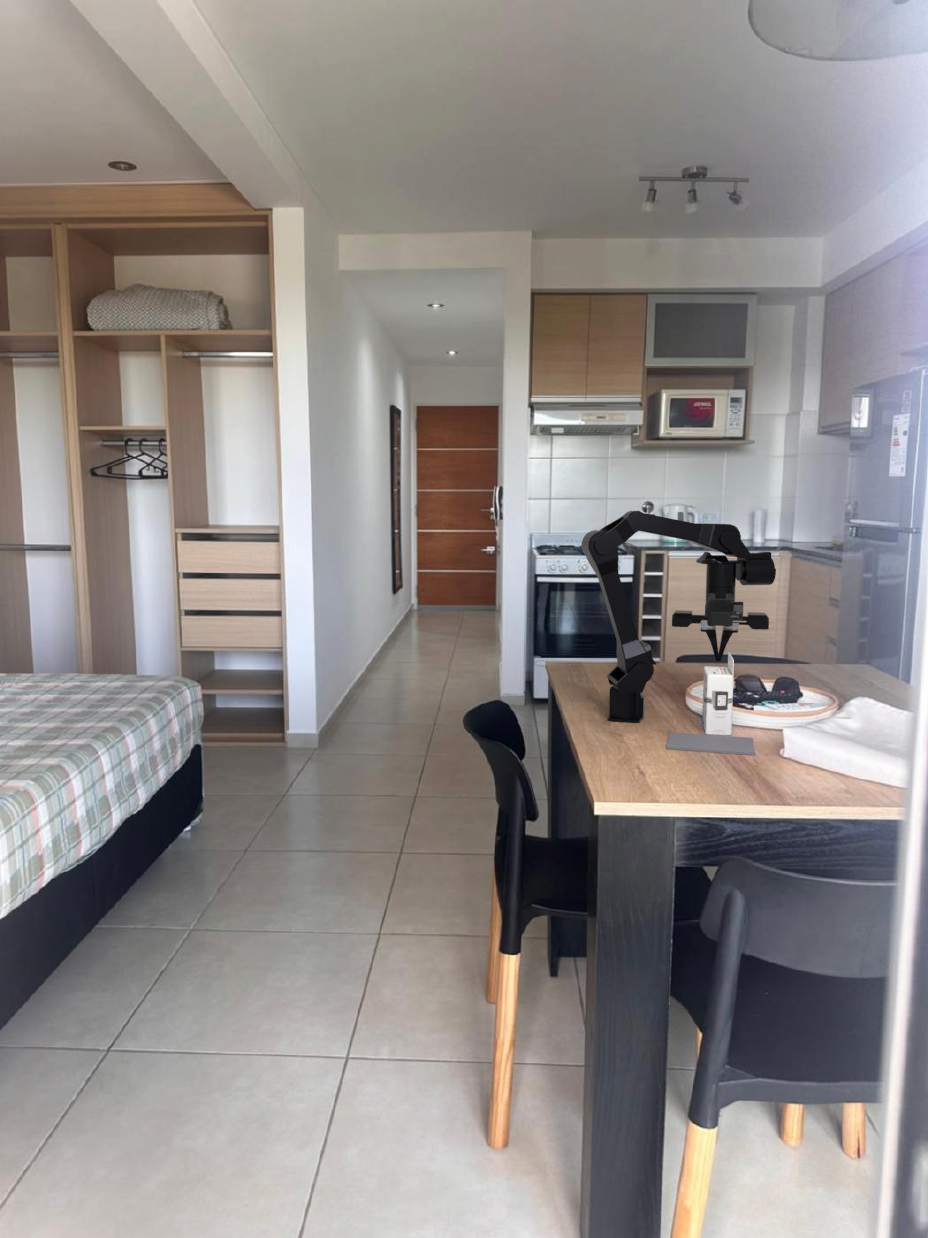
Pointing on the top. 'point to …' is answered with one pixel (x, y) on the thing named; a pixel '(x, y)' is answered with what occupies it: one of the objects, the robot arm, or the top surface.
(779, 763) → the top surface
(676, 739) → the mat
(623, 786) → the top surface
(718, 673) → the ink box
